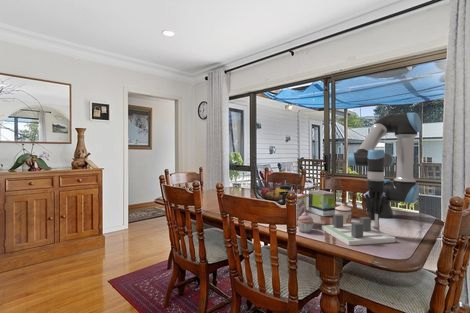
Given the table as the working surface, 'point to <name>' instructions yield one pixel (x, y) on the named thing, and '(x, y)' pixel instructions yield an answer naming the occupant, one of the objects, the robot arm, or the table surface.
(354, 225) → the block
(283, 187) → the french press
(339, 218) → the block
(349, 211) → the teacup with lid
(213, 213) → the table surface
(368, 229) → the block
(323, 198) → the tea box
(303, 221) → the cupcake
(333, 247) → the table surface
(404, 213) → the table surface
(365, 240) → the panel
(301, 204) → the candy bar box
